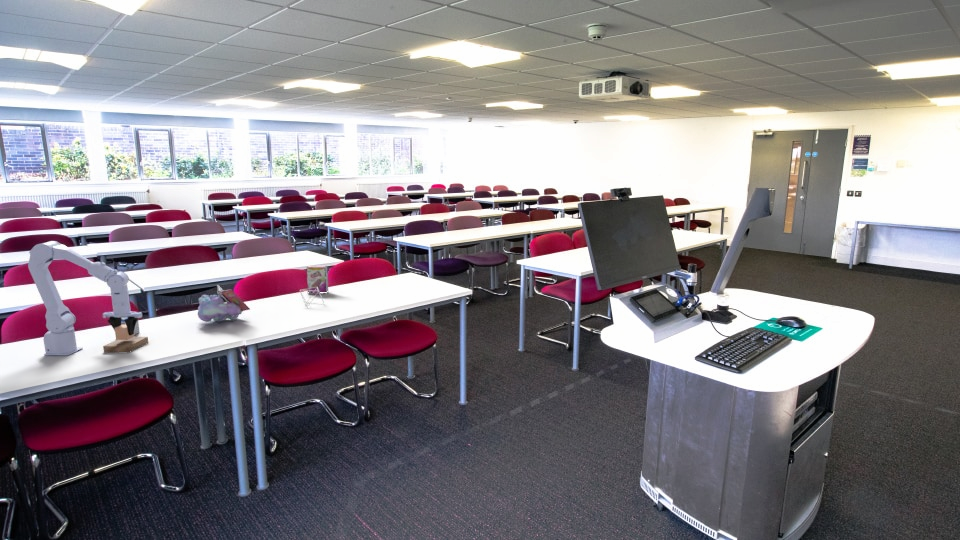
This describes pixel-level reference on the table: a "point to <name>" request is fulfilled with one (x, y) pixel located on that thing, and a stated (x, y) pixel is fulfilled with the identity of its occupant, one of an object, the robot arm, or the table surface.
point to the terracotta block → (122, 333)
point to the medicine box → (135, 325)
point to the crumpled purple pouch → (221, 306)
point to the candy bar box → (317, 278)
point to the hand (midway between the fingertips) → (125, 334)
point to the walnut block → (125, 344)
